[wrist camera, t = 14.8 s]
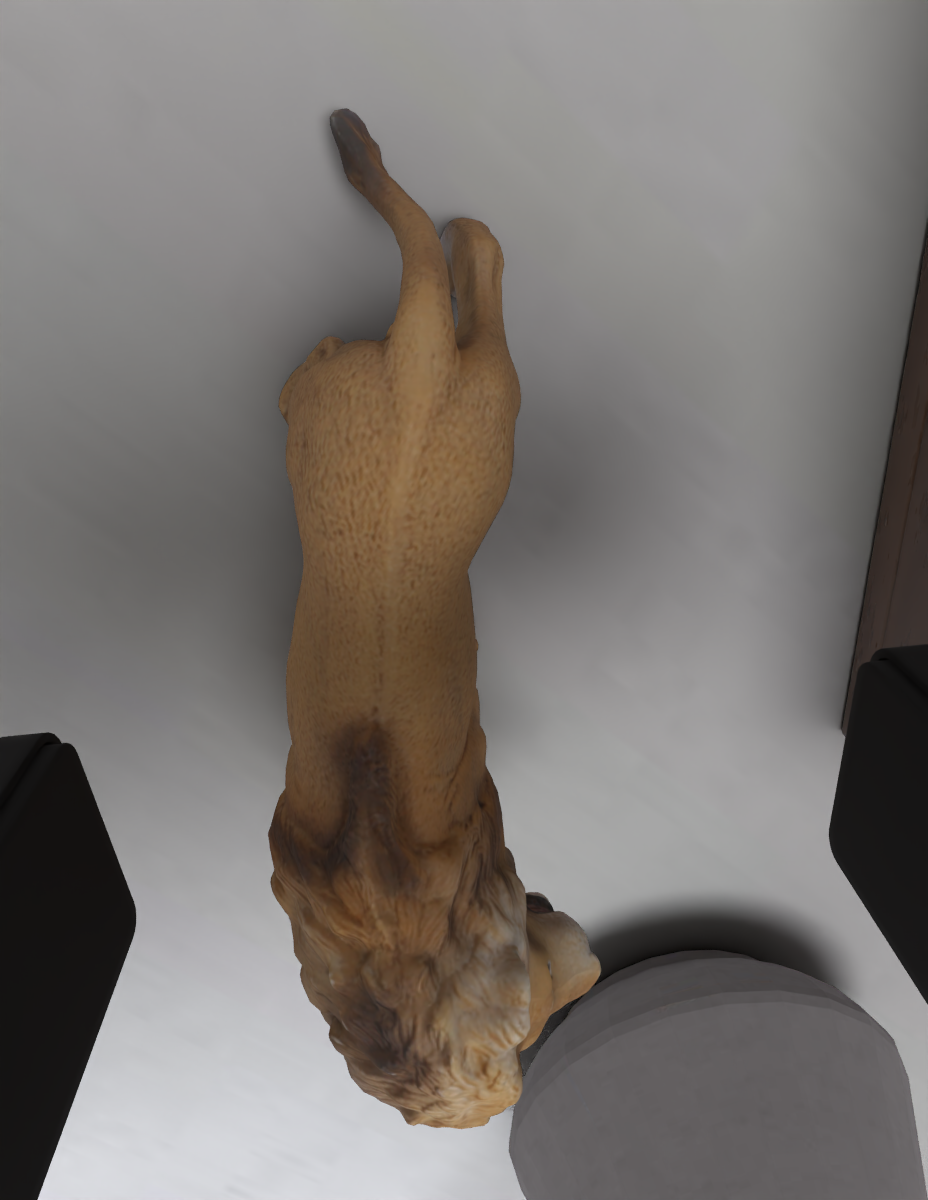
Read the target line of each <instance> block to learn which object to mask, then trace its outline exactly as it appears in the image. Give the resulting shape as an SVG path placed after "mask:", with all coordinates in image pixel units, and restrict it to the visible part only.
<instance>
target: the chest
mask: <svg viewBox="0 0 928 1200" xmlns="http://www.w3.org/2000/svg"><path fill="white" fill-rule="evenodd" d="M921 644H928V235H927V241H926V247H925V252H924V258H923V264H922V270H921V276H920V281H919V287H918V293H917V299H916V304H915V310H914V316H913V322H912V328H911V333H910V339H909V345H908V351H907V356H906V362H905V368H904V374H903V380H902V385H901V391H900V397H899V403H898V409H897V414H896V420H895V426H894V432H893V437H892V443H891V449H890V455H889V461H888V466H887V472H886V478H885V484H884V489H883V495H882V501H881V507H880V513H879V518H878V524H877V530H876V536H875V542H874V547H873V553H872V559H871V565H870V570H869V576H868V582H867V588H866V594H865V599H864V605H863V611H862V617H861V622H860V628H859V634H858V640H857V646H856V651H855V657H854V663H853V669H852V674H851V680H850V686H849V692H848V698H847V703H846V709H845V715H844V721H843V727H842V733H843V734H844V736H845V737H846V733H847V727H848V722H849V716H850V711H851V705H852V699H853V694H854V688H855V683H856V677H857V673H858V670H859V667H860V666H861V665H862V664H863V663H865V662H870V660H871V657H872V655H873V654H874V653H875V651H877V650H879V649H881V648H891V647H901V646H911V645H921Z"/></svg>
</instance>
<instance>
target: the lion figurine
mask: <svg viewBox="0 0 928 1200" xmlns="http://www.w3.org/2000/svg"><path fill="white" fill-rule="evenodd" d="M330 125H331V129H332V133H333V135H334V138H335V141H336V143H337V146H338V149H339V152H340V156H341V160H342V164H343V168H344V171H345V174H346V176H347V178H348V181H349V182H350V183H351V184H352V185H353V186H354V187H355V188H356V189H357V190H358V191H359V192H360V193H361V194H362V195H363V196H365V197H366V199H367V200H368V201H369V202H370V203H371V204H372V205H373V207H374V208H375V209H376V210H377V211H378V212H379V213H380V214H381V216H382V217H383V218H384V219H385V221H386V222H387V223H388V224H389V226H390V227H391V229H392V230H393V232H394V234H395V236H396V240H397V243H398V245H399V247H400V250H401V254H402V260H403V274H402V282H401V290H400V300H399V305H398V309H397V313H396V317H395V321H394V323H392V325H391V326H390V327H389V329H388V332H387V334H386V337H385V339H383V340H382V341H376V340H356V341H353V342H350V343H347V344H345V343H344V342H343V341H342V340H341V339H340V338H336V337H332V336H329V337H326V338H325V339H323V340H322V341H321V342H320V343H319V344H318V345H317V346H316V348H315V349H314V350H313V351H312V352H311V353H310V355H309V356H308V357H307V360H306V362H304V363H303V364H302V365H300V366H299V367H298V368H297V369H296V370H295V371H294V372H293V373H292V375H291V376H290V377H289V379H288V381H287V382H286V384H285V386H284V387H283V389H282V392H281V395H280V398H279V408H280V411H281V414H282V415H283V417H284V419H285V420H286V422H287V424H288V425H289V430H288V437H287V444H286V469H287V474H288V478H289V481H290V483H291V485H292V488H293V496H294V505H295V511H296V517H297V522H298V528H299V533H300V538H301V543H302V549H303V559H304V565H303V575H302V582H301V586H300V591H299V595H298V599H297V605H296V612H295V619H294V626H293V633H292V640H291V645H290V650H289V655H288V661H287V671H286V696H287V713H288V724H289V730H290V735H291V740H292V745H291V748H290V751H289V754H288V760H287V765H286V783H285V785H286V788H285V790H284V791H283V793H282V794H281V796H280V797H279V800H278V803H277V806H276V809H275V812H274V816H273V820H272V824H271V827H270V829H269V832H268V837H269V844H270V851H271V856H272V860H273V865H274V872H273V875H272V877H271V887H272V891H273V894H274V895H275V897H276V899H277V901H278V902H279V904H280V905H281V906H282V908H283V909H284V911H285V912H286V913H287V914H288V916H289V918H290V921H291V926H292V933H293V939H294V953H295V956H296V957H297V959H298V960H299V962H300V963H301V964H302V968H301V973H300V976H301V982H302V984H303V987H304V989H305V991H306V994H307V996H308V998H309V1001H310V1002H311V1003H312V1004H313V1005H314V1006H315V1007H316V1008H318V1009H319V1010H320V1011H321V1014H322V1015H323V1017H324V1019H325V1021H326V1022H327V1023H328V1024H329V1025H330V1031H329V1038H330V1041H331V1042H332V1044H333V1046H334V1047H335V1049H336V1050H337V1051H338V1052H340V1053H341V1054H342V1055H344V1058H345V1060H346V1063H347V1067H348V1070H349V1073H350V1076H351V1078H352V1079H353V1080H354V1081H355V1082H356V1084H357V1085H358V1086H359V1087H360V1088H361V1089H362V1090H363V1092H365V1093H367V1094H369V1095H371V1096H374V1097H375V1098H377V1099H378V1100H380V1101H381V1102H383V1103H386V1104H388V1105H390V1106H393V1107H395V1108H396V1109H398V1110H399V1111H400V1112H401V1114H402V1115H403V1117H404V1119H405V1120H406V1122H407V1124H410V1125H413V1126H414V1125H416V1124H424V1125H428V1126H431V1127H436V1128H440V1127H451V1128H457V1129H465V1128H472V1127H478V1126H484V1125H485V1124H487V1123H488V1121H489V1119H490V1117H491V1116H494V1115H497V1114H499V1113H501V1112H503V1111H504V1110H505V1109H506V1108H507V1107H508V1106H511V1105H513V1104H516V1103H517V1101H518V1100H519V1098H520V1096H521V1094H522V1089H523V1081H522V1068H521V1064H520V1052H521V1051H523V1050H525V1049H527V1048H528V1047H529V1046H530V1045H532V1044H533V1043H534V1042H535V1041H536V1040H537V1038H538V1037H539V1035H540V1033H541V1032H542V1030H543V1027H544V1025H545V1023H546V1022H547V1020H548V1018H549V1016H550V1015H551V1014H553V1013H554V1012H556V1011H557V1010H559V1009H561V1008H562V1007H563V1006H564V1005H566V1004H567V1003H569V1002H571V1001H573V1000H575V999H577V998H578V997H580V996H582V995H584V994H585V993H587V992H588V991H589V990H590V988H591V987H592V986H593V985H594V984H595V982H596V981H597V979H598V978H599V975H600V973H601V966H600V962H599V960H598V958H597V957H596V955H595V954H594V953H592V952H591V950H590V947H589V943H588V939H587V936H586V934H585V932H584V931H583V929H582V928H581V927H580V926H579V924H578V923H577V922H575V921H574V920H573V919H572V918H571V917H569V916H568V915H567V914H565V913H564V912H560V911H554V910H553V908H552V906H551V904H550V902H549V901H548V899H547V898H546V897H545V896H544V895H543V894H541V893H538V892H528V893H525V887H524V886H523V884H522V882H521V880H520V879H519V878H518V876H517V874H516V868H515V862H514V857H513V855H512V853H511V851H510V850H509V849H508V848H507V847H505V842H504V831H503V822H502V811H501V807H500V802H499V796H498V792H497V789H496V787H495V785H494V783H493V779H492V777H491V775H490V773H489V771H488V769H487V767H486V765H485V758H486V736H485V734H484V732H483V729H482V728H481V726H480V709H479V697H478V690H477V688H476V678H477V650H478V642H477V640H476V637H475V626H474V615H473V606H472V597H471V588H470V582H469V576H468V568H469V566H470V563H471V561H472V559H473V557H474V555H475V553H476V552H477V550H478V548H479V546H480V544H481V542H482V540H483V539H484V537H485V535H486V533H487V531H488V529H489V528H490V526H491V524H492V522H493V520H494V519H495V517H496V515H497V513H498V511H499V510H500V508H501V506H502V504H503V502H504V500H505V497H506V494H507V492H508V489H509V485H510V481H511V476H512V467H513V455H514V431H515V420H516V418H517V416H518V413H519V409H520V404H521V392H520V384H519V380H518V375H517V373H516V370H515V367H514V365H513V362H512V360H511V357H510V354H509V350H508V347H507V343H506V337H505V330H504V323H503V316H502V287H501V279H502V273H503V267H504V259H503V254H502V251H501V247H500V245H499V243H498V241H497V240H496V239H495V237H494V236H493V235H492V234H491V233H490V231H489V228H488V227H487V226H486V225H485V224H483V223H482V222H480V221H477V220H473V219H467V218H458V219H454V220H452V221H450V222H449V223H448V225H447V226H446V228H445V230H444V232H443V234H442V236H441V239H440V240H439V237H438V235H437V232H436V230H435V227H434V224H433V222H432V221H431V219H430V218H429V216H428V215H427V214H426V212H425V211H424V210H423V209H422V208H421V207H420V206H419V205H418V204H417V203H416V202H415V201H414V200H413V199H412V198H410V197H409V196H408V195H407V193H406V192H405V191H404V190H403V189H402V188H401V187H400V186H399V185H398V184H397V183H396V182H395V181H394V180H393V179H392V178H391V177H390V176H389V175H388V173H387V171H386V169H385V168H384V166H383V164H382V159H381V152H380V148H379V145H378V144H377V143H376V142H375V141H374V140H373V139H372V138H371V137H370V135H369V133H368V131H367V129H366V126H365V124H364V123H363V121H362V120H361V119H360V118H359V117H358V116H357V115H356V114H355V113H354V112H352V111H350V110H349V109H341V110H335V111H334V112H333V113H332V115H331V116H330ZM450 294H451V295H453V296H454V297H455V298H456V299H457V309H458V325H457V328H456V331H455V325H454V318H453V311H452V304H451V296H450Z"/></svg>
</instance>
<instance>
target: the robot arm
mask: <svg viewBox="0 0 928 1200" xmlns="http://www.w3.org/2000/svg"><path fill="white" fill-rule="evenodd" d="M829 841H830V846H831V850H832V853H833V855H834V858H835V860H836V862H837V863H838V865H839V866H840V868H841V870H842V871H843V873H844V874H845V876H846V877H847V879H848V881H849V882H850V884H851V885H852V887H853V888H854V890H855V891H856V893H857V895H858V896H859V898H860V899H861V901H862V902H863V904H864V906H865V907H866V909H867V910H868V912H869V913H870V915H871V917H872V918H873V920H874V921H875V923H876V924H877V926H878V927H879V929H880V931H881V932H882V934H883V935H884V937H885V938H886V940H887V942H888V943H889V945H890V946H891V948H892V949H893V951H894V952H895V954H896V956H897V957H898V959H899V960H900V962H901V963H902V965H903V967H904V968H905V970H906V971H907V973H908V974H909V976H910V978H911V979H912V981H913V982H914V984H915V985H916V987H917V988H918V990H919V992H920V993H921V995H922V996H923V998H924V999H925V1001H926V1003H927V1004H928V644H921V645H911V646H901V647H891V648H881V649H879V650H877V651H875V653H874V654H873V655H872V657H871V660H870V662H865V663H863V664H862V665H861V666H860V667H859V670H858V673H857V677H856V683H855V688H854V694H853V699H852V705H851V711H850V716H849V722H848V727H847V733H846V738H845V744H844V749H843V755H842V761H841V766H840V772H839V777H838V783H837V788H836V794H835V799H834V805H833V811H832V816H831V822H830V827H829ZM135 927H136V908H135V904H134V901H133V898H132V896H131V893H130V890H129V888H128V885H127V882H126V880H125V877H124V875H123V872H122V869H121V867H120V864H119V861H118V859H117V856H116V853H115V851H114V848H113V846H112V843H111V840H110V838H109V835H108V832H107V830H106V827H105V824H104V822H103V819H102V817H101V814H100V811H99V809H98V806H97V803H96V801H95V798H94V795H93V793H92V790H91V788H90V785H89V782H88V780H87V777H86V774H85V772H84V769H83V766H82V764H81V761H80V759H79V756H78V753H77V751H76V749H75V748H74V747H73V746H72V745H71V744H69V743H61V741H60V740H59V738H58V737H57V736H56V735H55V734H52V733H49V732H48V733H38V734H28V735H18V736H8V737H1V738H0V1200H37V1199H38V1197H39V1194H40V1191H41V1188H42V1186H43V1183H44V1180H45V1177H46V1175H47V1172H48V1169H49V1166H50V1164H51V1161H52V1158H53V1155H54V1153H55V1150H56V1147H57V1145H58V1142H59V1139H60V1136H61V1134H62V1131H63V1128H64V1125H65V1123H66V1120H67V1117H68V1114H69V1112H70V1109H71V1106H72V1103H73V1101H74V1098H75V1095H76V1093H77V1090H78V1087H79V1084H80V1082H81V1079H82V1076H83V1073H84V1071H85V1068H86V1065H87V1062H88V1060H89V1057H90V1054H91V1051H92V1049H93V1046H94V1043H95V1041H96V1038H97V1035H98V1032H99V1030H100V1027H101V1024H102V1021H103V1019H104V1016H105V1013H106V1010H107V1008H108V1005H109V1002H110V999H111V997H112V994H113V991H114V989H115V986H116V983H117V980H118V978H119V975H120V972H121V969H122V967H123V964H124V961H125V958H126V956H127V953H128V950H129V947H130V945H131V942H132V939H133V936H134V932H135Z"/></svg>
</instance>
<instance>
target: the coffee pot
mask: <svg viewBox="0 0 928 1200" xmlns="http://www.w3.org/2000/svg"><path fill="white" fill-rule="evenodd" d="M522 1081H523V1089H522V1094H521V1096H520V1098H519V1100H518V1101H517V1103H516V1104H515V1107H514V1113H513V1120H512V1127H511V1134H510V1141H509V1153H510V1156H511V1159H512V1163H513V1166H514V1169H515V1172H516V1175H517V1178H518V1181H519V1184H520V1187H521V1190H522V1192H523V1194H524V1196H525V1197H526V1199H527V1200H928V1198H927V1192H926V1186H925V1179H924V1173H923V1167H922V1160H921V1154H920V1148H919V1141H918V1135H917V1129H916V1122H915V1116H914V1110H913V1103H912V1097H911V1091H910V1084H909V1078H908V1076H907V1073H906V1070H905V1067H904V1065H903V1062H902V1060H901V1057H900V1055H899V1052H898V1050H897V1047H896V1045H895V1042H894V1039H893V1038H892V1037H891V1036H890V1035H889V1034H888V1032H887V1031H886V1030H885V1029H884V1028H883V1027H882V1026H881V1025H879V1024H878V1023H877V1022H876V1021H875V1020H874V1019H873V1018H872V1017H871V1016H870V1015H869V1014H868V1013H867V1012H866V1011H865V1010H863V1009H862V1008H861V1007H860V1006H859V1005H858V1004H856V1003H855V1002H854V1001H852V1000H851V999H850V998H848V997H847V996H846V995H844V994H843V993H842V992H841V991H839V990H838V989H837V988H835V987H834V986H831V985H829V984H827V983H825V982H822V981H820V980H818V979H815V978H813V977H811V976H809V975H806V974H804V973H802V972H800V971H797V970H793V969H790V968H787V967H784V966H781V965H778V964H773V963H767V962H761V961H758V960H756V959H754V958H751V957H749V956H747V955H743V954H737V953H731V952H725V951H719V950H699V951H681V952H676V953H672V954H667V955H662V956H658V957H653V958H649V959H646V960H644V961H641V962H639V963H636V964H634V965H632V966H629V967H627V968H624V969H622V970H619V971H617V972H616V973H614V974H612V975H611V976H609V977H608V978H606V979H605V980H603V981H602V982H600V983H598V984H597V985H595V986H594V987H592V988H591V989H590V990H589V991H588V992H587V993H586V994H585V995H584V996H583V997H582V998H581V999H580V1000H579V1001H578V1002H577V1003H576V1004H575V1005H574V1006H573V1007H572V1008H571V1010H570V1011H569V1013H568V1015H567V1017H566V1018H565V1020H564V1021H563V1022H562V1023H561V1024H560V1025H559V1026H558V1027H557V1028H556V1029H555V1030H554V1031H553V1032H552V1033H551V1035H550V1036H549V1037H548V1039H547V1040H546V1041H545V1043H544V1044H543V1045H542V1047H541V1048H540V1049H539V1051H538V1053H537V1054H536V1056H535V1058H534V1060H533V1062H532V1063H531V1065H530V1067H529V1069H528V1071H527V1072H526V1074H525V1076H524V1078H523V1079H522Z"/></svg>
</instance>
